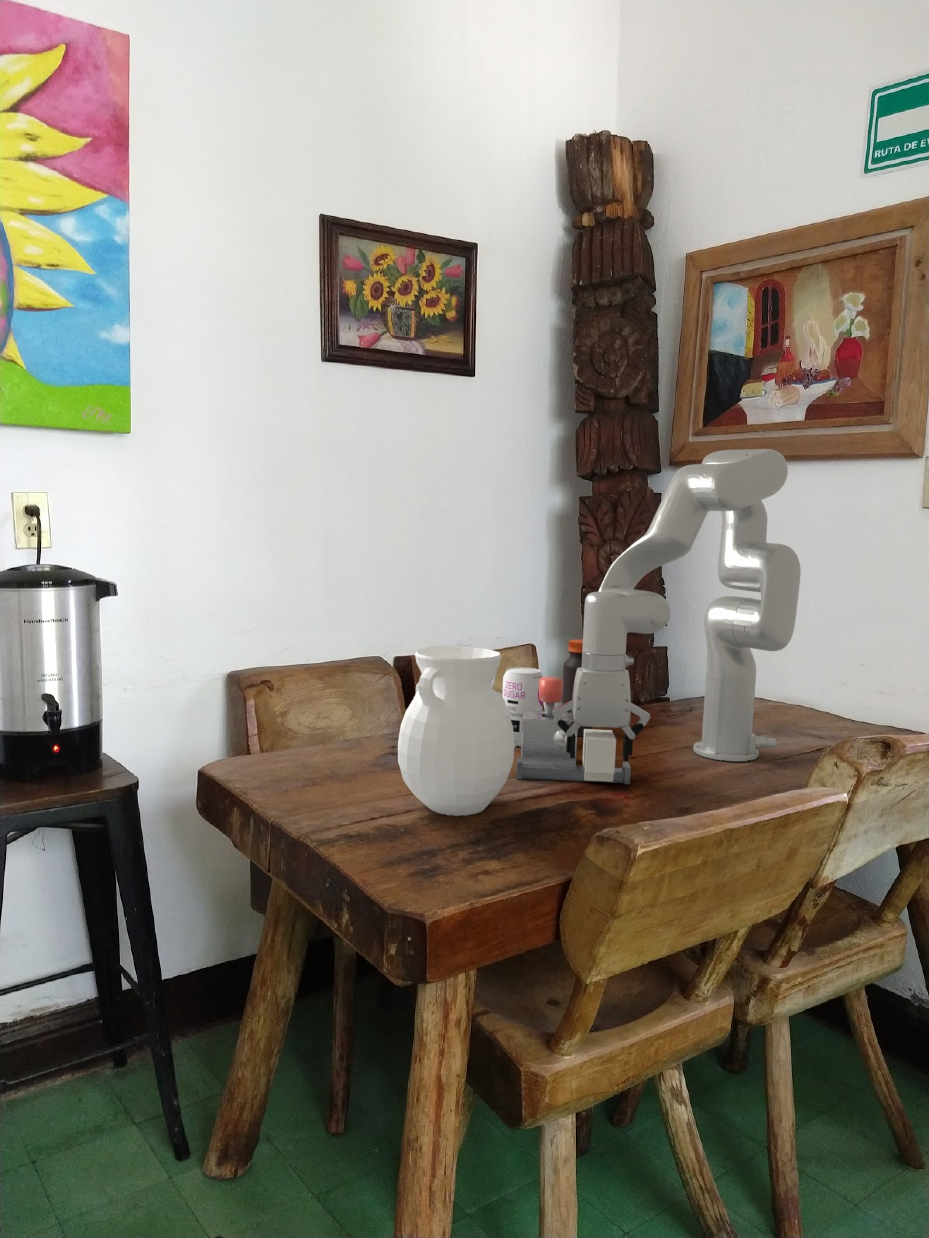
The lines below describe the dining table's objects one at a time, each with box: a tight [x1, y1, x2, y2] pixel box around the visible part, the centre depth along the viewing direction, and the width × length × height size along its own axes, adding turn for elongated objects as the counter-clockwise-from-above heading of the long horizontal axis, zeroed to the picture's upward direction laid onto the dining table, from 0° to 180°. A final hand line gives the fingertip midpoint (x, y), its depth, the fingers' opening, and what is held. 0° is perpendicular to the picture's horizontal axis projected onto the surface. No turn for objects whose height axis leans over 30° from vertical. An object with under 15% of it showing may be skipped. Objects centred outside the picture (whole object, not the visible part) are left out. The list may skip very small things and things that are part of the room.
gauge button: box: [539, 676, 563, 718], centre depth 173 cm, size 4×4×8 cm
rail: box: [515, 756, 632, 785], centre depth 164 cm, size 20×4×3 cm, turn 87°
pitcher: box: [397, 645, 516, 817], centre depth 146 cm, size 19×18×25 cm
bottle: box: [561, 639, 593, 737], centre depth 197 cm, size 7×7×20 cm
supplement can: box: [502, 666, 544, 748], centre depth 188 cm, size 8×8×15 cm
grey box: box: [520, 710, 578, 766], centre depth 174 cm, size 10×7×9 cm
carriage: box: [582, 728, 617, 783], centre depth 164 cm, size 5×7×8 cm
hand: (598, 757), depth 164 cm, fingers open, 9 cm apart
